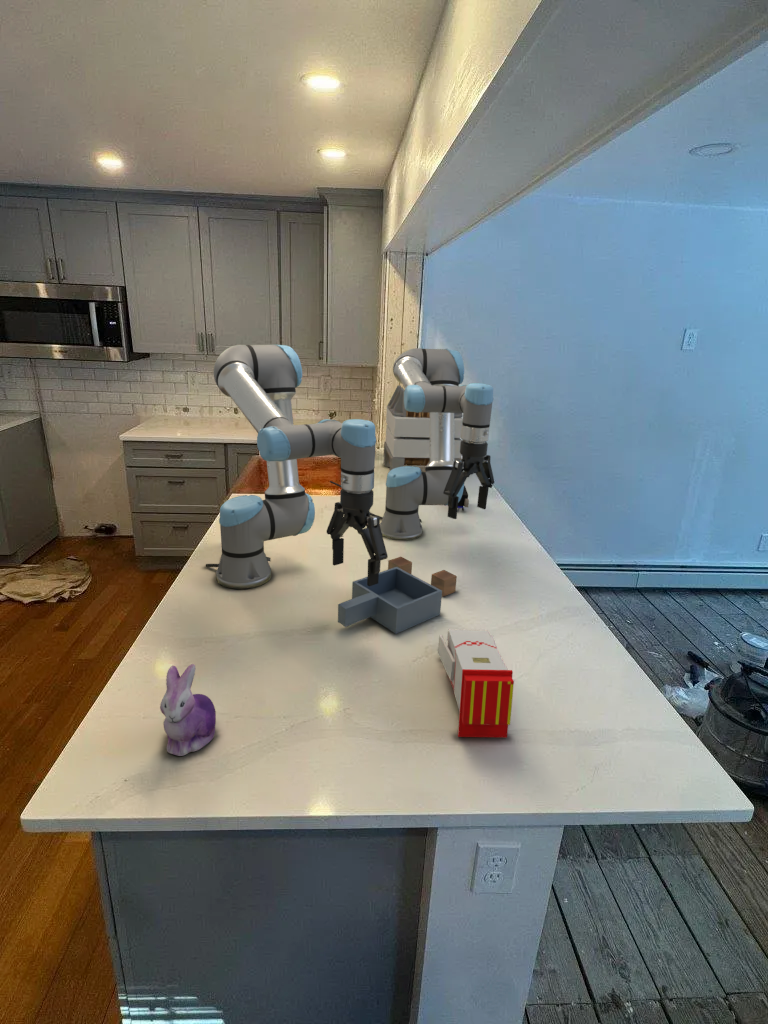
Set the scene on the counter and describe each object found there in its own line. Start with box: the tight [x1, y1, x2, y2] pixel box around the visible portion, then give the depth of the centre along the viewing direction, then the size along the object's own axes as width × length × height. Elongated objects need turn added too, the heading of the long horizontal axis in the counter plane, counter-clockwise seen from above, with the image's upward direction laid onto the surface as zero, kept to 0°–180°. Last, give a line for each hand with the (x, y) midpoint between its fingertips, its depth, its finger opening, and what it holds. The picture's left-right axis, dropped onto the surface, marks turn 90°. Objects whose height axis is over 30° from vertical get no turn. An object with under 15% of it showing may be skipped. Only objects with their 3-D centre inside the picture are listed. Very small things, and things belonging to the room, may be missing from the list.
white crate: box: [383, 384, 463, 471], centre depth 268 cm, size 34×33×41 cm
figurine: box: [159, 663, 217, 757], centre depth 100 cm, size 9×10×15 cm
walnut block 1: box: [387, 556, 413, 575], centre depth 167 cm, size 5×5×5 cm
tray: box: [337, 567, 443, 635], centre depth 145 cm, size 18×26×7 cm
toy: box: [437, 628, 515, 738], centre depth 117 cm, size 12×13×30 cm
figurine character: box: [458, 485, 470, 512], centre depth 229 cm, size 7×8×15 cm
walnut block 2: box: [430, 569, 458, 598], centre depth 160 cm, size 5×5×5 cm
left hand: (354, 573), depth 136 cm, fingers open, 13 cm apart
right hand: (467, 512), depth 165 cm, fingers open, 13 cm apart
